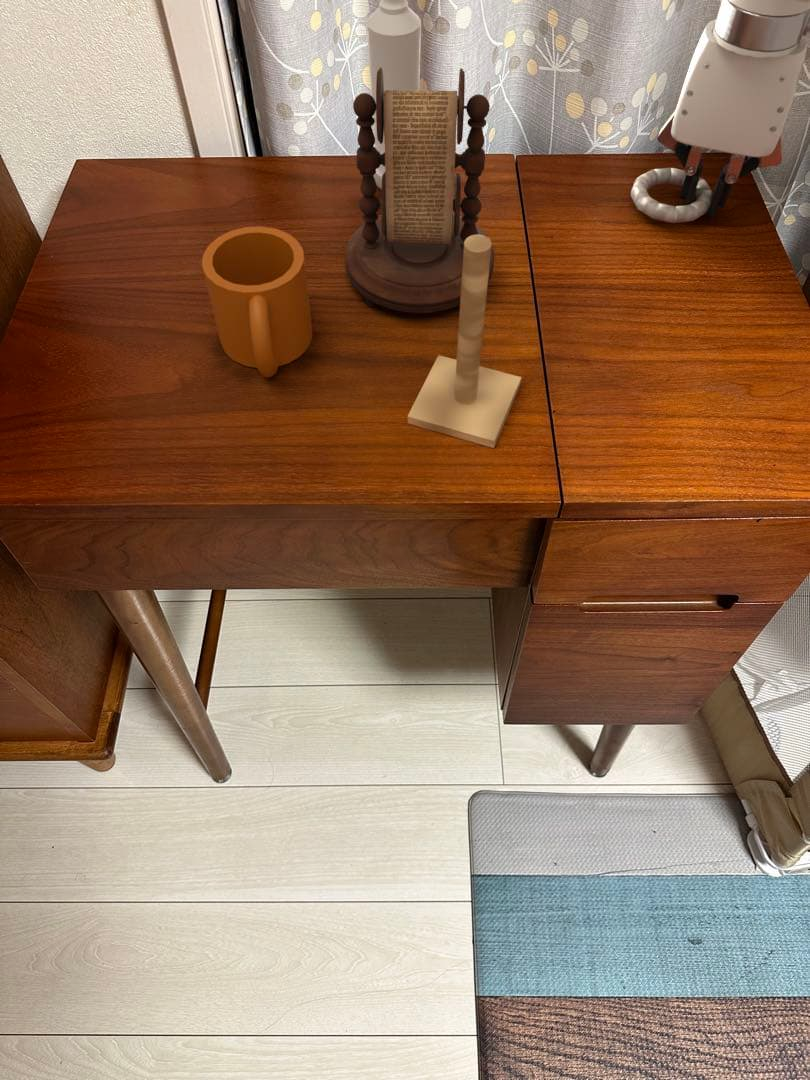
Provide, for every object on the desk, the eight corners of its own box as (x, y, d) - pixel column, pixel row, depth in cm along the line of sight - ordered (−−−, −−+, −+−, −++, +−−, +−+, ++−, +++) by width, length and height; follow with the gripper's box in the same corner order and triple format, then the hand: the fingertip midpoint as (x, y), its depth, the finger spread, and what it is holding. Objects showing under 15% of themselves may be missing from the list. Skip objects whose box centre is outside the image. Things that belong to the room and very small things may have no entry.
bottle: (373, 167, 92) (362, -97, 71) (419, 166, 92) (421, -97, 71) (373, 194, 89) (361, -72, 68) (419, 194, 89) (422, -72, 68)
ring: (715, 187, 88) (720, 174, 87) (702, 232, 84) (706, 219, 83) (639, 172, 90) (642, 159, 89) (622, 215, 86) (625, 201, 85)
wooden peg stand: (520, 384, 74) (546, 222, 60) (493, 448, 70) (514, 290, 56) (438, 362, 75) (444, 199, 61) (407, 423, 71) (406, 264, 57)
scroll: (341, 323, 78) (322, 122, 62) (351, 227, 86) (337, 26, 70) (494, 326, 78) (517, 124, 61) (490, 229, 86) (509, 27, 69)
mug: (205, 392, 74) (182, 315, 66) (229, 303, 80) (210, 223, 73) (303, 396, 73) (291, 320, 66) (319, 306, 80) (310, 227, 72)
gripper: (858, 15, 71) (780, 203, 87) (678, -12, 75) (633, 173, 90) (852, 55, 68) (771, 244, 83) (662, 24, 71) (618, 212, 86)
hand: (700, 206), depth 86 cm, fingers closed on ring, 2 cm apart
